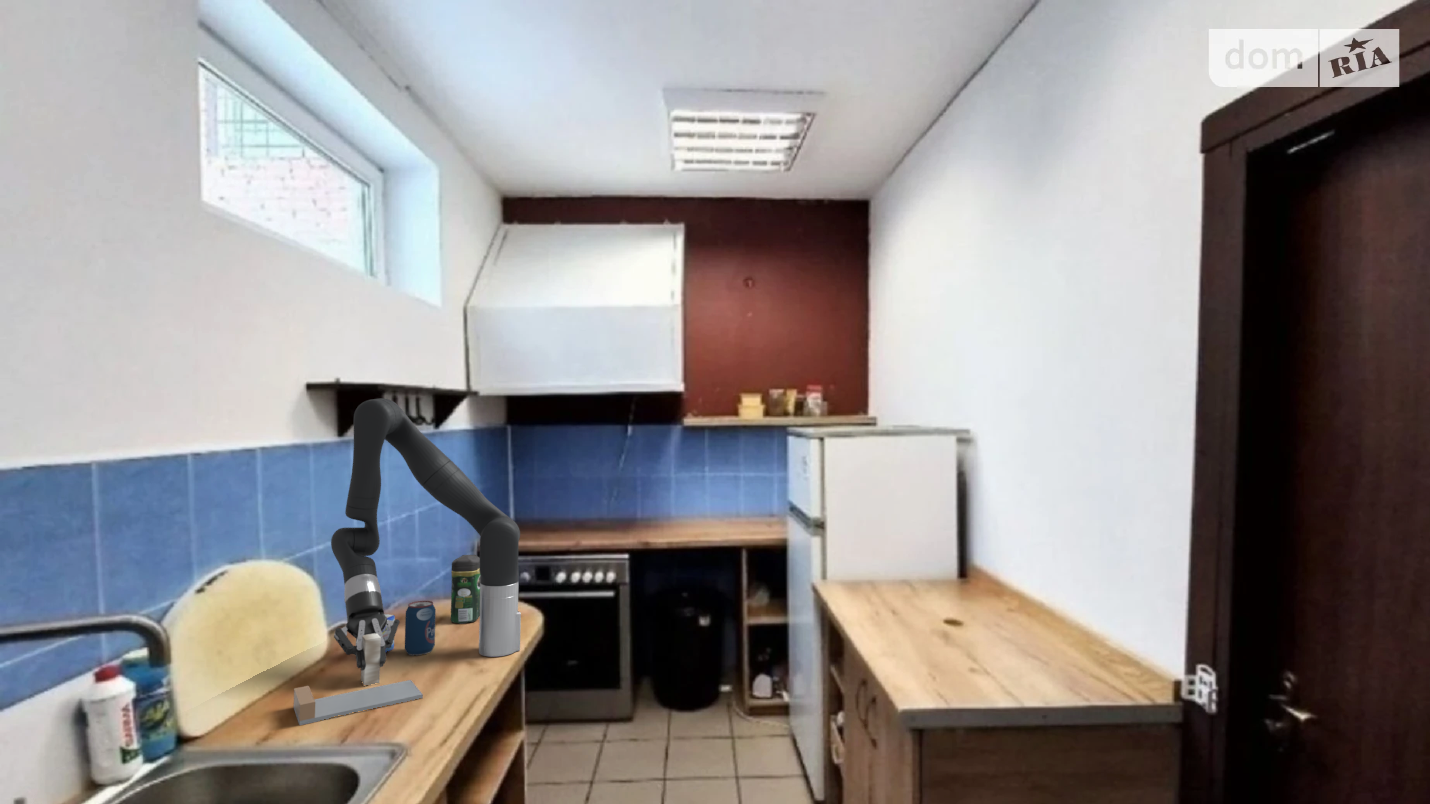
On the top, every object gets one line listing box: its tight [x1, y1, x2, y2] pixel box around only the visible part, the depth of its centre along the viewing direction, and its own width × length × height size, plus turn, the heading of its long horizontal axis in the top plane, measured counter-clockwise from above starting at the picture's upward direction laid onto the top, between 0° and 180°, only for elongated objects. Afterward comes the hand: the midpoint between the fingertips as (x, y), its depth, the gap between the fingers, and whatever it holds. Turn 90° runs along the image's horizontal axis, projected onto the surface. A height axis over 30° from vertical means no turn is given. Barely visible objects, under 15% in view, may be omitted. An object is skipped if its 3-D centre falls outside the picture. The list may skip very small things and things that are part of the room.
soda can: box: [404, 600, 437, 656], centre depth 170 cm, size 7×7×12 cm
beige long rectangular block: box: [360, 633, 381, 686], centre depth 150 cm, size 3×4×10 cm
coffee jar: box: [450, 554, 480, 625], centre depth 199 cm, size 10×8×19 cm
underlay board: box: [293, 679, 424, 726], centre depth 139 cm, size 22×10×4 cm, turn 127°
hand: (372, 666), depth 148 cm, fingers closed on beige long rectangular block, 3 cm apart
